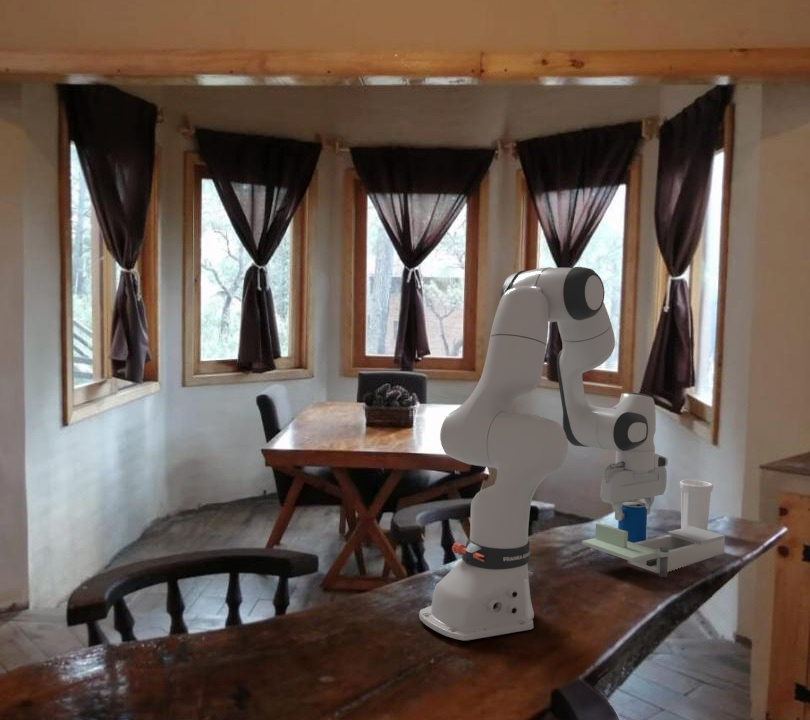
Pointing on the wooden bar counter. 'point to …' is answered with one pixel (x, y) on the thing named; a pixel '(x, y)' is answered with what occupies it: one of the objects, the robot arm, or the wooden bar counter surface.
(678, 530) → the white open box
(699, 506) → the cup
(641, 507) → the beverage can
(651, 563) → the cord
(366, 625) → the wooden bar counter surface
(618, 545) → the cover
